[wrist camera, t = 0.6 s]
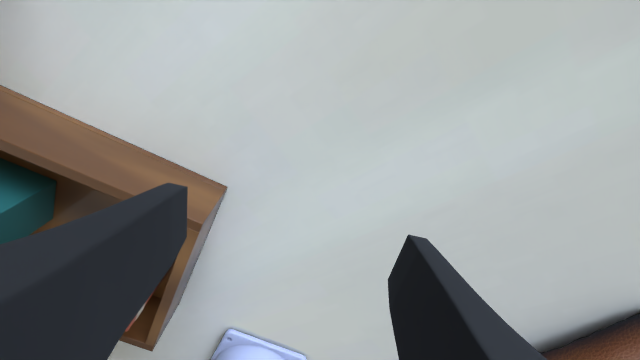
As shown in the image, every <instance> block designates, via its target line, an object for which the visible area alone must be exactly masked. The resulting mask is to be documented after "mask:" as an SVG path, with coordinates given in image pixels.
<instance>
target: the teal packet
mask: <svg viewBox="0 0 640 360" xmlns="http://www.w3.org/2000/svg"><path fill="white" fill-rule="evenodd" d="M55 192H56V180H53V179H51V178H48V177H46V176H43V175H41V174H38V173H36V172H34V171H31V170H29V169H26V168H24V167H21V166H19V165H17V164H14V163H12V162H9V161H7V160H4V159H2V158H0V244H3V243H6V242H10V241H13V240H16V239H20V238H23V237H26V236H29V235H30V234H31V233H33V232H34V231H36V230H37V229H39V228H40V227H42V226H43V225H44V224H46V223H47V222H49V221H50V220H52V219H53V213H54V203H55Z"/></svg>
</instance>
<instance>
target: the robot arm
mask: <svg viewBox="0 0 640 360" xmlns="http://www.w3.org/2000/svg"><path fill="white" fill-rule="evenodd" d="M187 195H188V187H187V186H182V185H178V184H173V183H165V184H162V185H160V186H157V187H155V188H152V189H150V190H148V191H145V192H143V193H140V194H138V195H136V196H133V197H131V198H129V199H126V200H124V201H122V202H119V203H117V204H114V205H112V206H110V207H107V208H105V209H102V210H100V211H97V212H94V213H92V214H89V215H86V216H84V217H81V218H78V219H76V220H73V221H70V222H68V223H65V224H62V225H60V226H57V227H54V228H51V229H48V230H45V231H42V232H39V233H36V234H33V235H29V236H26V237H23V238H20V239H16V240H13V241H10V242H6V243H3V244H0V360H107V359H108V357H109V356H110V354H111V352H112V351H113V349H114V347H115V345H116V344H117V342H118V341H119V339H120V338H121V336H122V335H123V333H124V332H125V330H126V329H127V327H128V326H129V324H130V323H131V322H132V320H133V319H134V317H135V316H136V315H137V313H138V312H139V311H140V309H141V308H142V306H143V305H144V304H145V302H146V301H147V299H148V298H149V297H150V295H151V294H152V292H153V291H154V290H155V288H156V287H157V286H158V284H159V283H160V281H161V280H162V278H163V277H164V276H165V274H166V273H167V271H168V270H169V269H170V267H171V266H172V264H173V262H174V260H175V259H176V257H177V255H178V253H179V251H180V249H181V248H182V246H183V244H184V242H185V240H186V238H187ZM388 291H389V307H390V314H391V319H392V325H393V330H394V335H395V341H396V346H397V351H398V356H399V360H547V359H546V358H545V357H544V356H542V355H541V354H540V353H539V352H538V351H537V350H536V349H535V348H533V347H532V346H531V345H530V344H529V343H528V342H527V341H526V340H524V339H523V338H522V337H521V336H520V335H519V334H518V333H517V332H515V331H514V330H513V329H512V328H511V327H510V326H509V325H508V324H507V323H506V322H505V321H504V320H503V319H502V318H501V317H500V316H499V315H498V314H497V313H496V312H495V311H494V310H493V309H492V308H491V307H490V306H489V305H488V304H487V303H486V302H485V301H484V300H483V299H482V298H481V297H480V296H479V295H478V294H477V293H476V292H475V291H474V290H473V289H472V288H471V287H470V285H469V284H468V283H467V282H466V281H465V280H464V279H463V278H462V277H461V276H460V275H459V273H458V272H457V271H456V270H455V269H454V268H453V267H452V266H451V265H450V263H449V262H448V261H447V260H446V259H445V258H444V257H443V256H442V254H441V253H440V252H439V251H438V250H437V249H436V248H435V247H434V246H433V245H432V244H431V243H430V242H429V241H428V240H427V239H426V238H421V237H417V236H412V235H408V236H407V238H406V241H405V243H404V245H403V247H402V249H401V252H400V254H399V256H398V258H397V261H396V263H395V265H394V267H393V269H392V272H391V274H390V276H389V278H388ZM210 360H306V357H305V356H304V355H301V354H299V353H296V352H293V351H290V350H288V349H285V348H282V347H280V346H277V345H274V344H271V343H269V342H266V341H263V340H260V339H258V338H255V337H252V336H250V335H247V334H244V333H241V332H239V331H236V330H233V329H229V330H227V331H226V333H225V335H224V336H223V338H222V340H221V342H220V343H219V345H218V347H217V349H216V350H215V352H214V354H213V356H212V357H211V359H210Z"/></svg>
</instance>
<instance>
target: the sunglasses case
mask: <svg viewBox="0 0 640 360" xmlns="http://www.w3.org/2000/svg"><path fill="white" fill-rule="evenodd" d="M541 355H542V356H544V357H545V358H546V359H547V360H640V314H638V315H635V316H632V317H630V318H628V319H626V320H624V321H620V322H618V323H616V324H613V325H611V326H609V327H607V328H605V329H602V330H599V331H596V332H594V333H593V334H591V335H590V336H589V337H584V338H580V339H578V340H576V341H574V342H572V343H570V344H568V345H566V346H564V347H562V348H559V349H553V350H550V351H547V352H544V353H541Z"/></svg>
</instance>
